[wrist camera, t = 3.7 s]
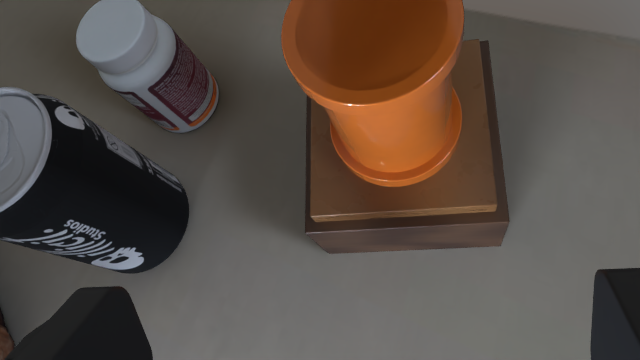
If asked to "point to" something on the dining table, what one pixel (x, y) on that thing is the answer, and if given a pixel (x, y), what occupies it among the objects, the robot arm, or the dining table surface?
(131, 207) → the beverage can
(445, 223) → the wooden box
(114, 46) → the pill bottle
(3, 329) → the pastry
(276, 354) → the dining table surface
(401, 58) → the spool
